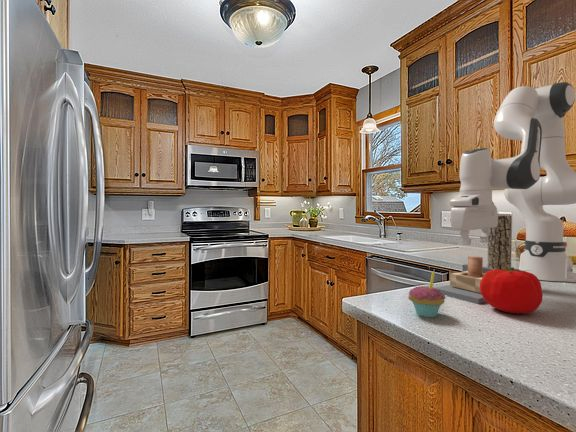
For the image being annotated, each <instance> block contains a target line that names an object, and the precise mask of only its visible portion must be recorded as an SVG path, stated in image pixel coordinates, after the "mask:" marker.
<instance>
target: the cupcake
mask: <svg viewBox="0 0 576 432" xmlns="http://www.w3.org/2000/svg"><path fill="white" fill-rule="evenodd" d="M435 274H436V273H435V268H434V269H433V271H431V276H430V281H429V286H423V285H421V286H415V287H413V288H411V289H410V290H409V291H408V300H410V301H411V302H412V304H413V306H414V310H415V312H416V314H417V315H418V316H420V317H424V318H435V317H437V316H438V313H439V310H440V307H441V306H442V305H443V304H445V300H446V296H445V295H444V294H442V292H440V291H439V290H437V289H436V288H435V287H434V286H433V285H434V279H435Z"/></svg>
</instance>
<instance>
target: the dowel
mask: <svg viewBox="0 0 576 432" xmlns="http://www.w3.org/2000/svg"><path fill="white" fill-rule="evenodd" d="M483 261H484V260H483V257H482V256H474V255H470V256H467V264H468V276H472V277H477V278H481V277H482V267H484V266H483Z"/></svg>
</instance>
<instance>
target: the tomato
mask: <svg viewBox="0 0 576 432" xmlns="http://www.w3.org/2000/svg"><path fill="white" fill-rule="evenodd" d="M527 271H529V270H527ZM480 292H481V295H482V296H483V298H484V299H485V301H486V302H485V303H487V304H489V305H490V307H491V308H495V309H497V310H498V311H499V310H500V311H502V312H504V313H511V314H530V313H533V312H535V311H537V309H538V308H539V307H540V305H541V304H542V302H543V294H544V293H543V290H542V284H541V280H538V278H537V277H536V276H535V275H534V274H532V273H529V272H526V271H522V270H521V271H520V270H519V268H518V269H517V268H515V267H513V266H511V269H509V268H507V269H494V270H490V271H488V272H486V273H485V274H484V276H483V277H482V280H481V282H480Z"/></svg>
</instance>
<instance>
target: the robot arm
mask: <svg viewBox="0 0 576 432" xmlns="http://www.w3.org/2000/svg"><path fill="white" fill-rule="evenodd" d="M575 101H576V92H575V88H574V86H573V85H572V84H570V83H569V82H567V81H562V82H554V83H553V84H549V85H544V86H540V87H535V88H534V87H531V86H527V85H522V86H518V87H515V88H513V89H511V90H510V91H509V93H508V94H507V95H506V96H505V98H504V99H503V101H502V102H501V103H500V106H499V108H498V109H497V112H496V115H495V117H494V121H493V129H494V131H495V132H496V133H497V134H498V135H499V136H500V137H502V138H504V139H506V140H512V141H521V148H520V153H519V154H518V155H516V156H512V157H507V158H500V159H494V158H492V157H491V156H492V154H491V151H490V149H489V148H487V147H481V148H475V149H471V150H470V149H469V150H465V151H464V152H463V153H462V154H461V157H460V161H459V180H460V187H459V194H457V196H454V197H453V198H451V199H450V201H449V206H451V207H452V208H451V209H450V226H451V228H452V230H453V231H456V232H457V231H458V232H459V235H460V237H461V239H462V244H463V245H464V246H469V245H471V244H472V238H470V235H469V234H470V231H475V230H481V235H480V236H479V242H480V243H488V236H489V234H490V228H494V227H497V225H498V214H499V213H498V208H497V206H496V205H495V202H493V190H504V192H503V193H504V197H505V200H506V201H507V202H508V203H509V204H510V205H513V206H514V207H516V209H517V210H518V211H519V212H520V213H521V215H522V217H523V219H524V222H525V223H524V224H525V240H524V244H523V245H524V251H523V252H521V253H520V258H519V268H518V269H519V270H520V271H521V270H522V271H526V272H529V273H532V274H534V275H535V276H536V277H537V278H538V280H539V281H548V282H564V283H566V282H567V283H576V272H573V271H574V266H573V265H574V263H573V260H572V259H571V258H570V257H569V256H568V255H567V253H566V252H567V251H566V248H567V247H568V243H567V242H566V241H564V222H563V221H562V219H561V218H559V216H556V215H553V214H550V213H548V212H546V211H545V210H544V206H563V205H564V206H567V205H575V204H576V171H575V170H574V169H573V168H572V167H571V166H570V165H569V163H568V161H567V157H566V156H567V155H566V143H565V142H566V132H565V123H564V119H563V118H564V117H565V116H566V114H567V113H568V112H569V111H570V110H571V109H572V107H573V106H574V104H575ZM541 169H542V170H544V171H545V172H546V175H545V176H541ZM527 270H529V271H527Z"/></svg>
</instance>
